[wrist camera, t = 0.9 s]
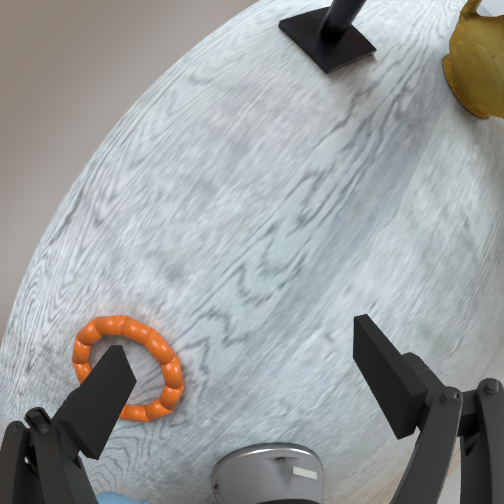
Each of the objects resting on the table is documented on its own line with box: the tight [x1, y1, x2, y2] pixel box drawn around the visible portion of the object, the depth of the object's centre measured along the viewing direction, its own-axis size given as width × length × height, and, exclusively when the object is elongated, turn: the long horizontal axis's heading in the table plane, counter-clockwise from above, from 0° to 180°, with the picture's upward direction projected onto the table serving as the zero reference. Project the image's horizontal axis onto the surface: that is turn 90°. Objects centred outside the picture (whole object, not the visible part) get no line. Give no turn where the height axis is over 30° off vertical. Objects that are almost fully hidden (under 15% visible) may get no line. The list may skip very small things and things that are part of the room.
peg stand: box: [279, 0, 377, 74], centre depth 18 cm, size 9×9×15 cm
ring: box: [72, 315, 185, 422], centre depth 25 cm, size 13×13×2 cm
